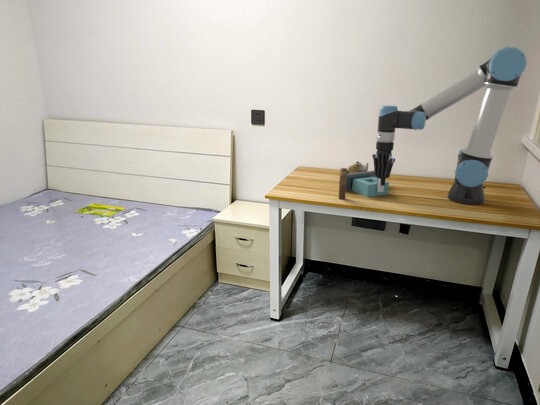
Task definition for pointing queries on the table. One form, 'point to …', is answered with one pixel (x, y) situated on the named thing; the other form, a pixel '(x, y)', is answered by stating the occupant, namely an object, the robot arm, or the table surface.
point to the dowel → (342, 183)
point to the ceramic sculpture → (357, 168)
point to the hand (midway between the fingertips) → (380, 191)
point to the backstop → (357, 175)
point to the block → (368, 186)
